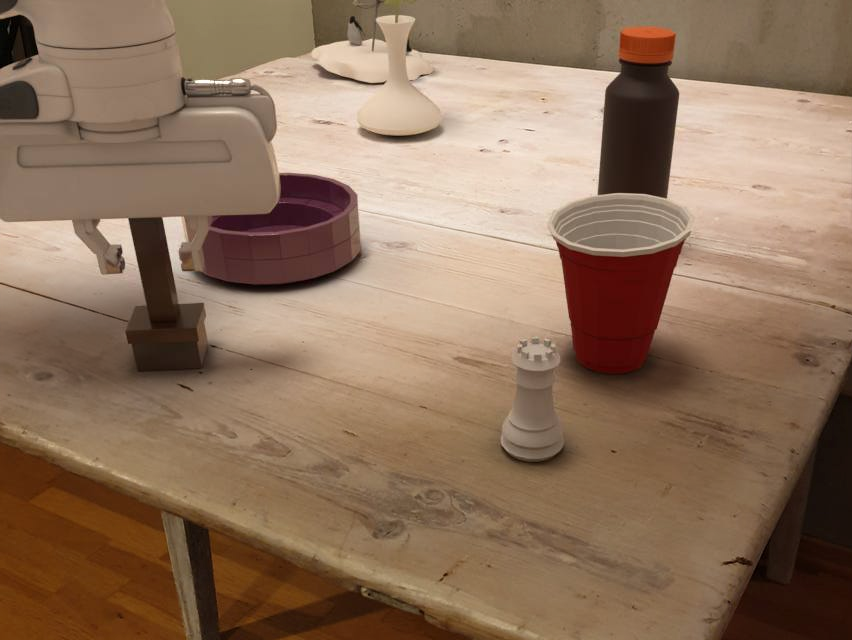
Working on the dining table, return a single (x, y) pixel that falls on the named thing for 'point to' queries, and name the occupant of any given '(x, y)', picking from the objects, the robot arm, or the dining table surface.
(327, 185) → the bowl
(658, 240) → the plastic cup
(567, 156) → the dining table surface
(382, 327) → the dining table surface
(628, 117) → the bottle
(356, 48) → the figurine
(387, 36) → the flower in vase
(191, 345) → the brush
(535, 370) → the rook chess piece
